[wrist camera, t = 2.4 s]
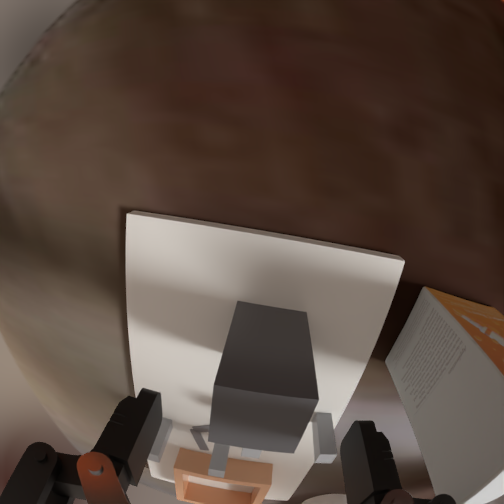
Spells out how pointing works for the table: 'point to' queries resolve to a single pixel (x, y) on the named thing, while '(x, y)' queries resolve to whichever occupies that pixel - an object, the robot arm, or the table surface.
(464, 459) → the small box
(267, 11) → the table surface
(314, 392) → the dark grey block
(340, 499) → the white brass knuckles
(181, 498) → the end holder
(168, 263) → the board
